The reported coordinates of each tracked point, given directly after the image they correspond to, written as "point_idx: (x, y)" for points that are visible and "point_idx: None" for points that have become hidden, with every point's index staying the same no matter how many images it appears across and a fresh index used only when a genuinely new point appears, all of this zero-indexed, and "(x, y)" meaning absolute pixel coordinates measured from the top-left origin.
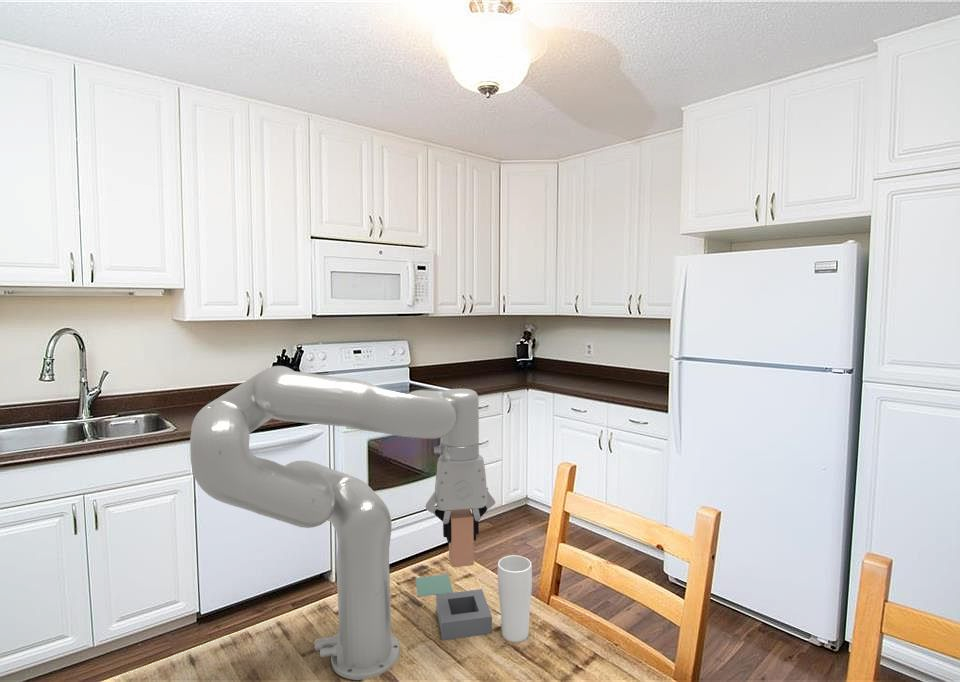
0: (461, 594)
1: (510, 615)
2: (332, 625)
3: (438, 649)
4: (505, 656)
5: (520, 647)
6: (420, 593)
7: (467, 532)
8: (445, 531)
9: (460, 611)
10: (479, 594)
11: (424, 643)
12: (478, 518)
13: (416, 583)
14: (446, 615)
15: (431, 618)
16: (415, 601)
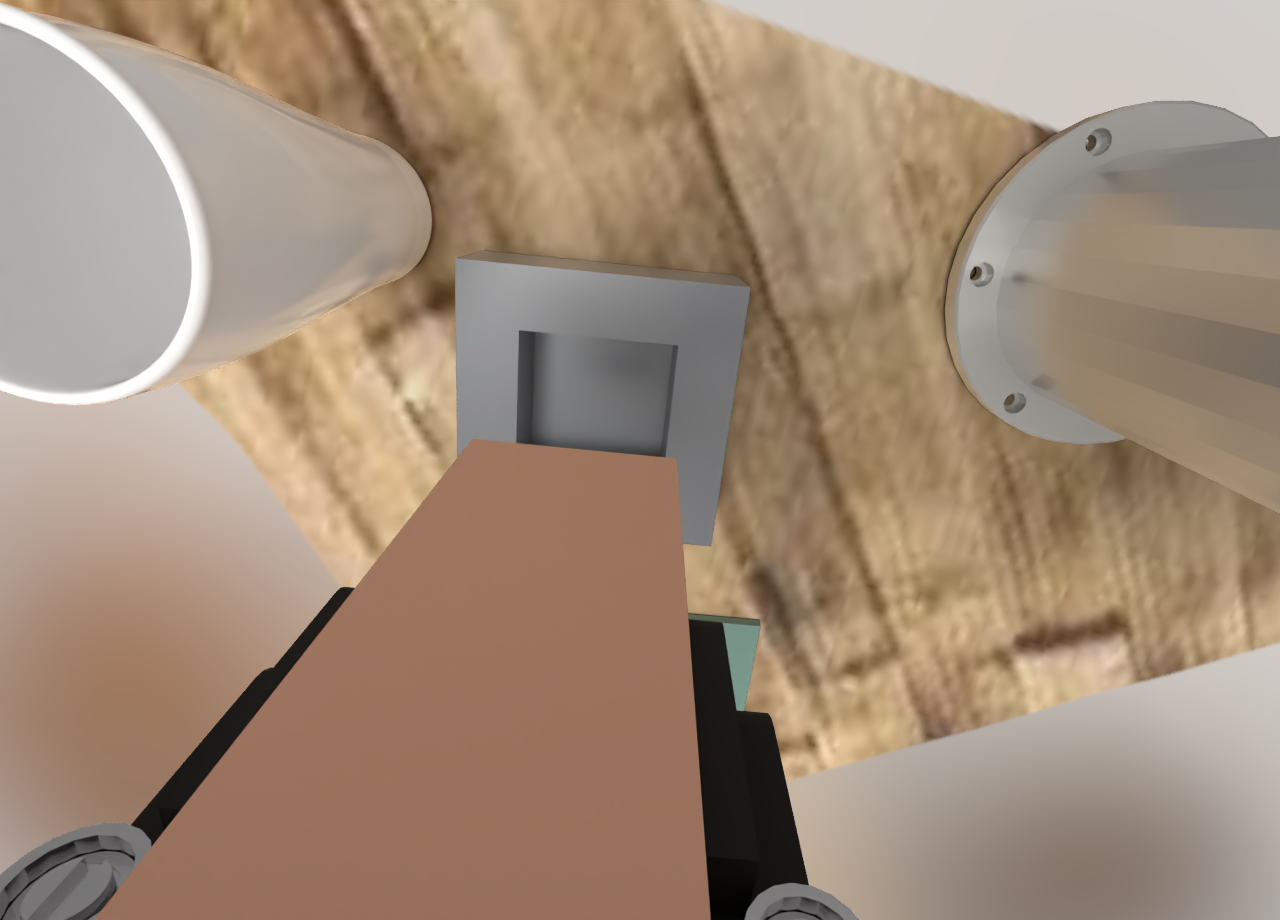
0: None
1: (331, 125)
2: (1166, 549)
3: (766, 231)
4: (452, 61)
5: (359, 109)
6: (742, 644)
7: (417, 650)
8: (762, 774)
9: None
10: None
11: (818, 298)
12: (52, 879)
13: None
14: (705, 350)
15: (736, 468)
16: (773, 605)
